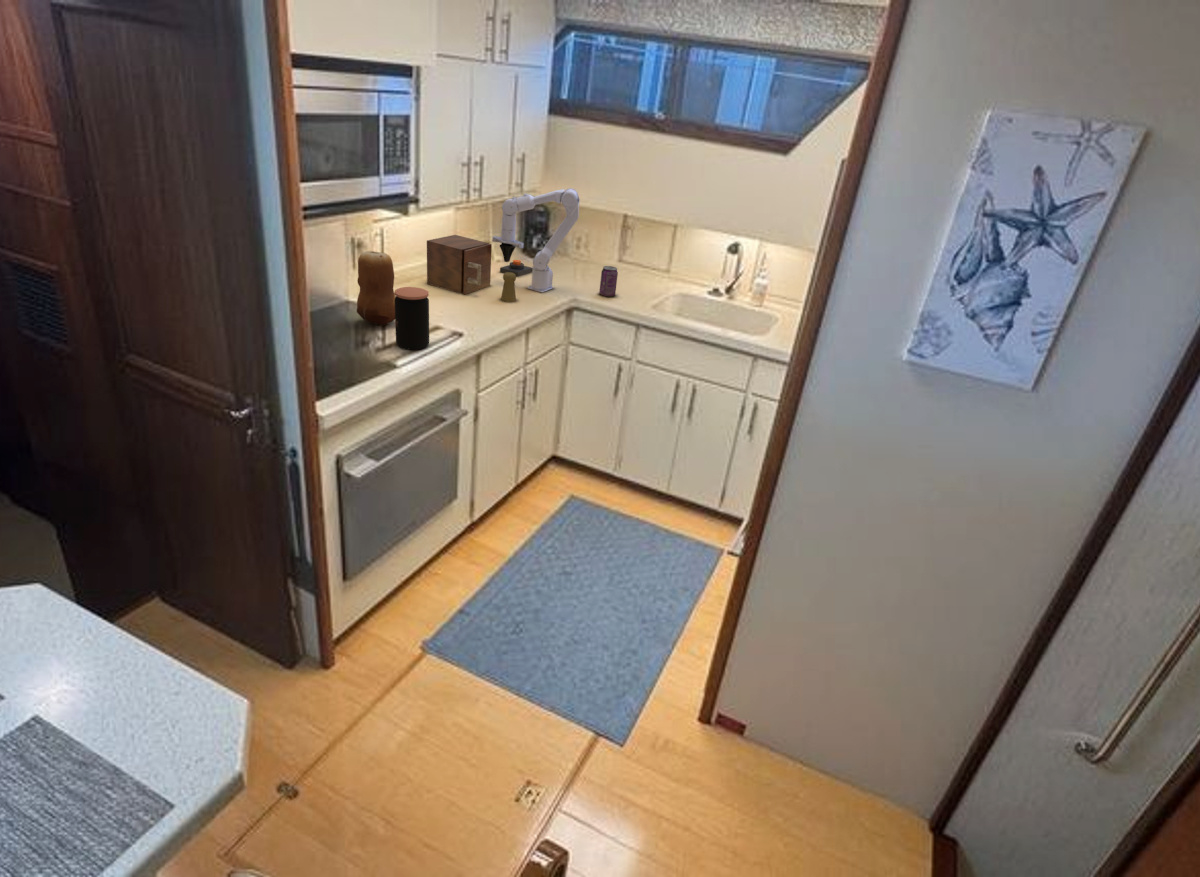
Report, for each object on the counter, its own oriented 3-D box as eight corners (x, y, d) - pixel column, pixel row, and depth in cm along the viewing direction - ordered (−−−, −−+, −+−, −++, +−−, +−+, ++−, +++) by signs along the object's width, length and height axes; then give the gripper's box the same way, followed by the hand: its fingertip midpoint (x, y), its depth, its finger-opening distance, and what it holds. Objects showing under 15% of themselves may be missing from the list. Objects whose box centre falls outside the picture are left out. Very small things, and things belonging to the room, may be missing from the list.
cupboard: (487, 285, 296) (489, 243, 288) (461, 293, 282) (461, 249, 274) (454, 276, 303) (455, 234, 295) (427, 283, 289) (426, 240, 281)
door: (501, 288, 294) (503, 246, 286) (477, 297, 279) (478, 253, 271) (488, 285, 296) (489, 243, 288) (463, 294, 282) (463, 250, 273)
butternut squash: (391, 315, 250) (389, 246, 239) (404, 328, 241) (402, 256, 229) (352, 319, 243) (348, 247, 231) (364, 331, 233) (360, 258, 222)
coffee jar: (407, 337, 234) (405, 284, 225) (435, 343, 231) (435, 290, 223) (389, 346, 224) (387, 292, 216) (418, 353, 222) (417, 299, 214)
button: (515, 263, 320) (515, 259, 319) (522, 264, 319) (522, 261, 318) (511, 264, 317) (511, 260, 316) (517, 266, 316) (517, 262, 315)
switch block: (514, 267, 326) (515, 259, 324) (532, 272, 322) (533, 263, 320) (499, 272, 317) (500, 263, 315) (517, 277, 313) (518, 268, 311)
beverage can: (605, 291, 308) (608, 264, 302) (618, 295, 304) (621, 268, 299) (595, 294, 302) (598, 267, 297) (609, 298, 299) (612, 271, 293)
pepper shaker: (513, 302, 278) (514, 275, 273) (498, 300, 279) (500, 273, 274) (517, 298, 284) (519, 272, 278) (503, 296, 284) (504, 270, 279)
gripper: (488, 226, 288) (487, 259, 294) (517, 234, 283) (515, 266, 289) (498, 224, 294) (497, 256, 300) (527, 231, 288) (525, 264, 295)
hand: (506, 261), depth 295 cm, fingers closed
